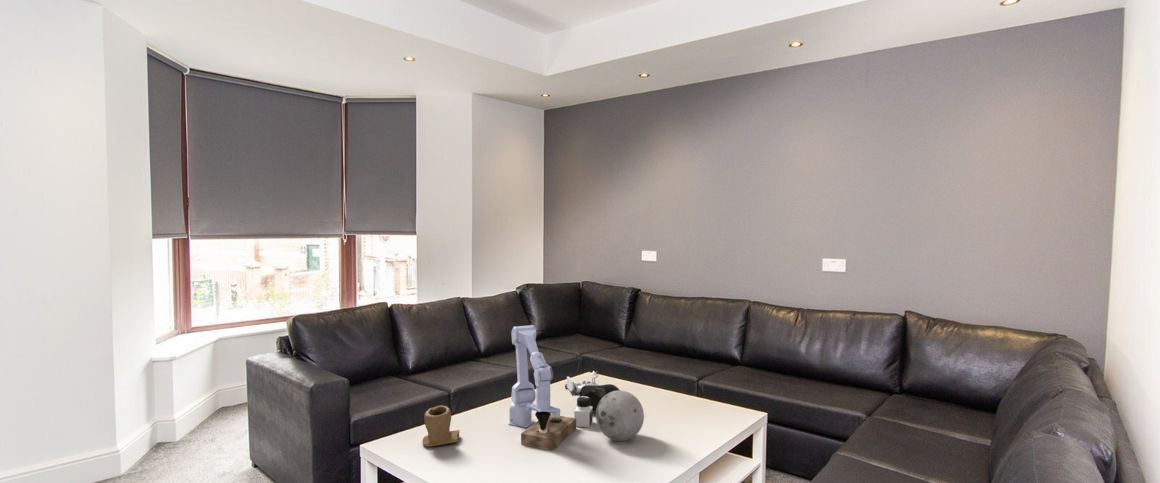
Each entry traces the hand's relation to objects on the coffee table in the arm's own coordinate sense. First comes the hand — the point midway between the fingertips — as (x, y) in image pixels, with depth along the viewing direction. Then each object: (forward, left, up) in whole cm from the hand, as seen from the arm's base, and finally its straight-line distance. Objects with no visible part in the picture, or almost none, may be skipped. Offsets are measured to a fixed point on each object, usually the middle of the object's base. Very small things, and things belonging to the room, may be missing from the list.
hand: (543, 429), depth 216 cm
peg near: (0, 0, -4) cm, 4 cm away
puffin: (+8, +44, -6) cm, 45 cm away
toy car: (-10, +69, -6) cm, 69 cm away
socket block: (0, +6, -5) cm, 8 cm away
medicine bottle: (+8, +24, -5) cm, 26 cm away
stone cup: (-37, -18, -5) cm, 41 cm away
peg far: (0, +12, -1) cm, 12 cm away
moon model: (+28, +15, -5) cm, 32 cm away
